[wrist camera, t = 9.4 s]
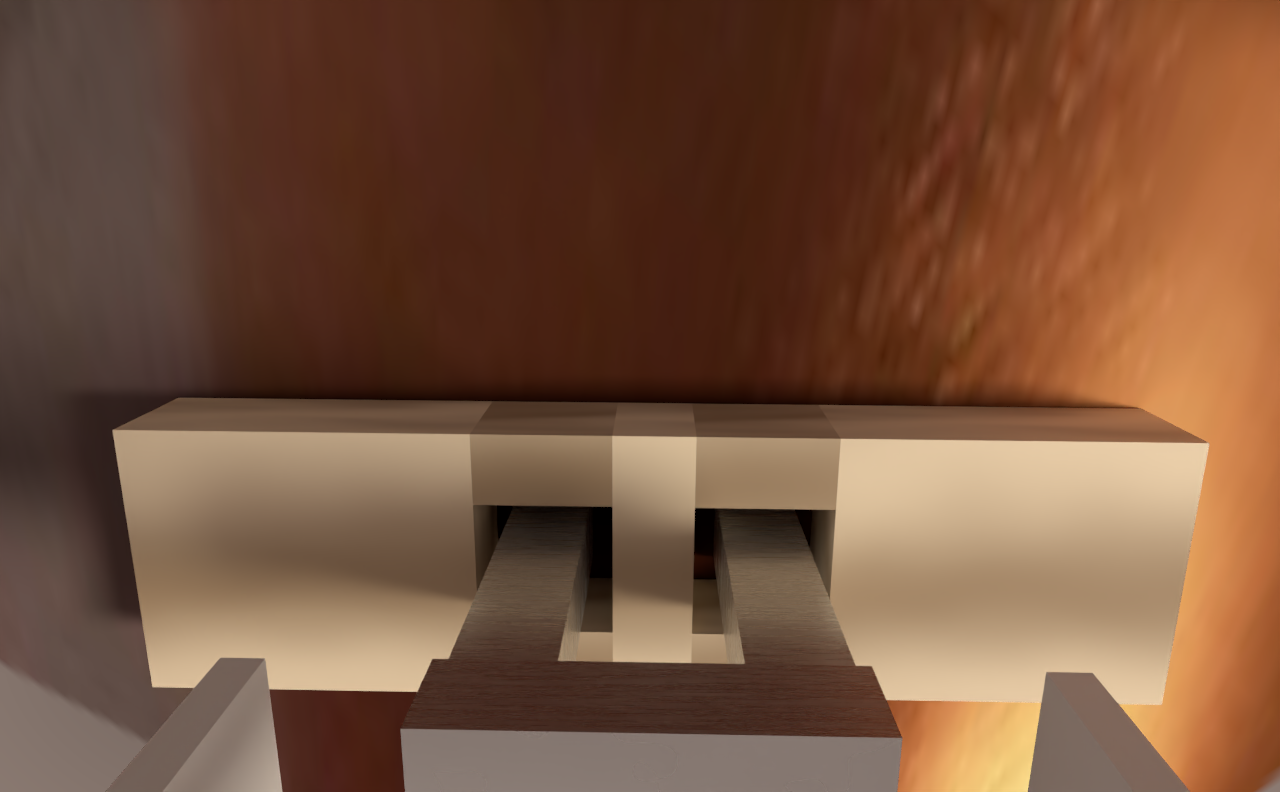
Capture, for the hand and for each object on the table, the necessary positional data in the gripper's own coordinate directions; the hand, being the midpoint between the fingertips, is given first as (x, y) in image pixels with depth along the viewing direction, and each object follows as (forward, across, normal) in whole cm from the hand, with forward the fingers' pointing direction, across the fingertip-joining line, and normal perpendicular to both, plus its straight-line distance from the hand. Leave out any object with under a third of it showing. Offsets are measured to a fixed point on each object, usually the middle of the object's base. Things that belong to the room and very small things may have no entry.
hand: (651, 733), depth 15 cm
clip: (+10, 0, -1) cm, 10 cm away
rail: (+10, 0, -1) cm, 10 cm away
